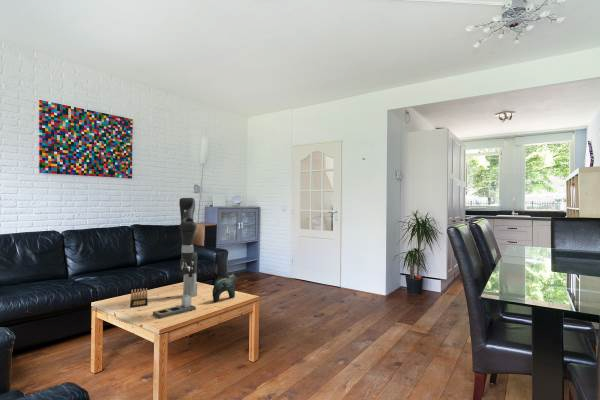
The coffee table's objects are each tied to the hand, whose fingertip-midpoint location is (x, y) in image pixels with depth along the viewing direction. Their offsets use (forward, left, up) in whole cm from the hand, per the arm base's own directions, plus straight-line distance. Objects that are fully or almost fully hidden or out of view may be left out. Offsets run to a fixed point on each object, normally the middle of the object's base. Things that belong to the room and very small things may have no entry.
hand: (186, 276), depth 221 cm
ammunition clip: (+18, -29, -22) cm, 41 cm away
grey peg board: (+8, 0, -22) cm, 23 cm away
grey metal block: (0, 0, -22) cm, 22 cm away
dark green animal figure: (-32, -1, -22) cm, 39 cm away
